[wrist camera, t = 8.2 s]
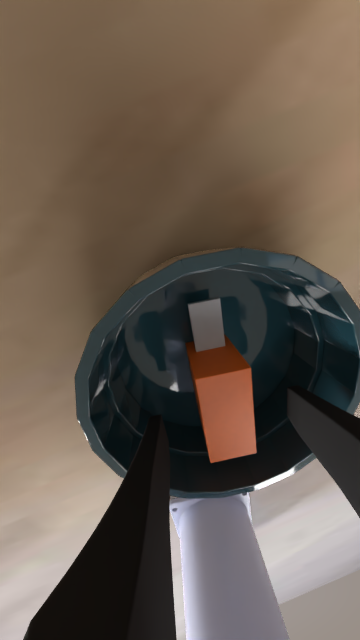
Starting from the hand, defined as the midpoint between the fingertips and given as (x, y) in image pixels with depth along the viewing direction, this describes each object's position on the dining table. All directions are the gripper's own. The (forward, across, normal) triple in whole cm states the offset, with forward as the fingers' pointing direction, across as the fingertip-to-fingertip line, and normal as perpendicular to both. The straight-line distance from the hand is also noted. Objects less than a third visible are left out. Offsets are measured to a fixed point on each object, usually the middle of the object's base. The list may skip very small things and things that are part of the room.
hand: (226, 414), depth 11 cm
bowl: (+4, 0, -2) cm, 4 cm away
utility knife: (+3, 0, -2) cm, 4 cm away
